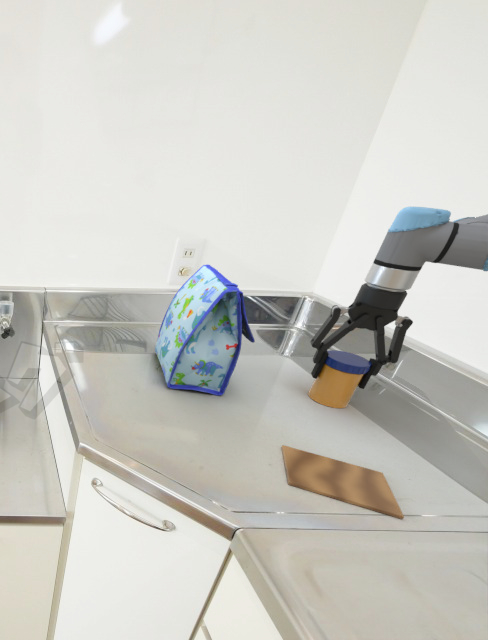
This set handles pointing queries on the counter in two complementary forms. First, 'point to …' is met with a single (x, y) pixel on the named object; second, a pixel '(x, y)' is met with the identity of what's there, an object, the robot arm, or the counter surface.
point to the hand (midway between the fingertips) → (336, 380)
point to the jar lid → (347, 362)
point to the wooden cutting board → (340, 481)
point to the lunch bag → (203, 333)
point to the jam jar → (334, 387)
